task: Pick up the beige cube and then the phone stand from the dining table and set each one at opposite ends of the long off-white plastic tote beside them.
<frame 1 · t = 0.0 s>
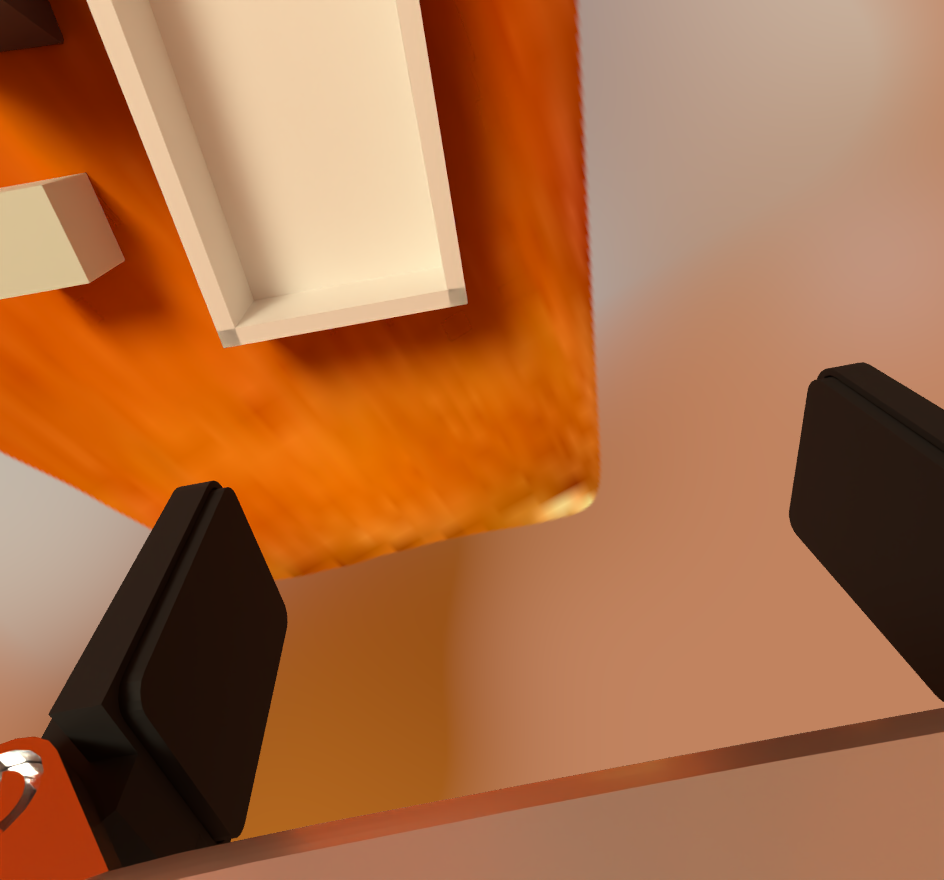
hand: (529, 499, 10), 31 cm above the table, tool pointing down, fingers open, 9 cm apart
beige cube: (65, 225, 36), on the table
tote: (280, 15, 31), on the table
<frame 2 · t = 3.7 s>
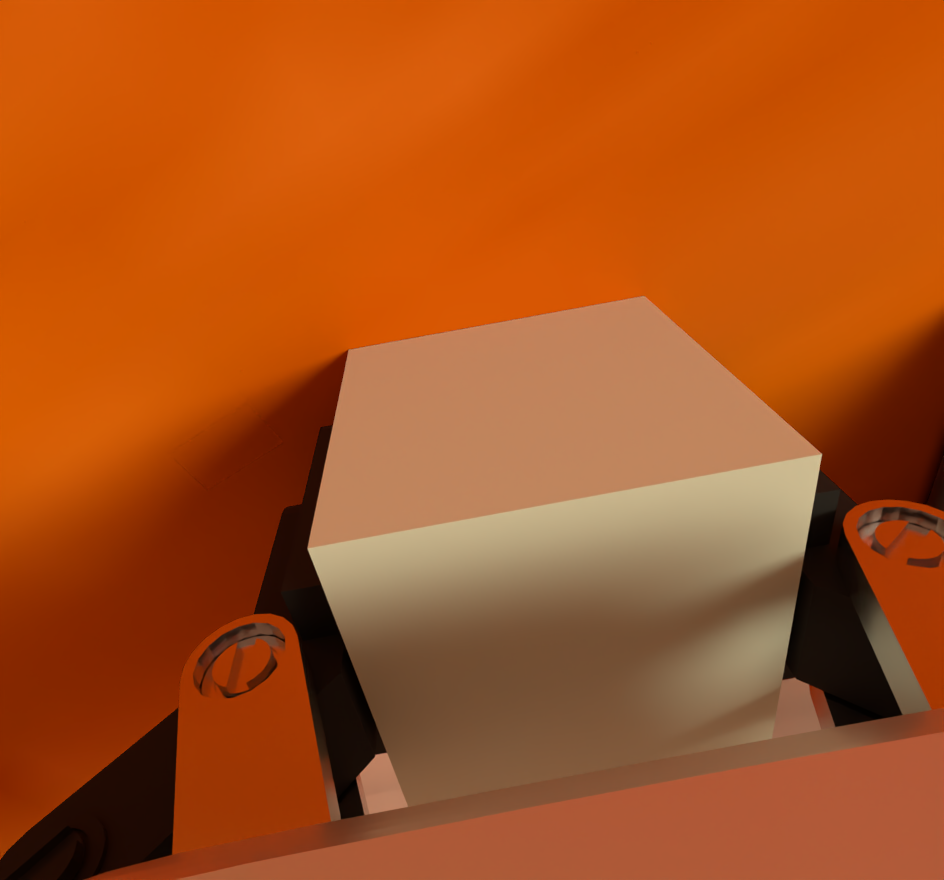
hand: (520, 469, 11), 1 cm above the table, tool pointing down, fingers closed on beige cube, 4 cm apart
beige cube: (514, 448, 11), on the table, touching gripper
tote: (817, 808, 19), on the table
when the fingers open (3 cm above the table, at t = 10.2 s): beige cube drops 1 cm, resting on tote.
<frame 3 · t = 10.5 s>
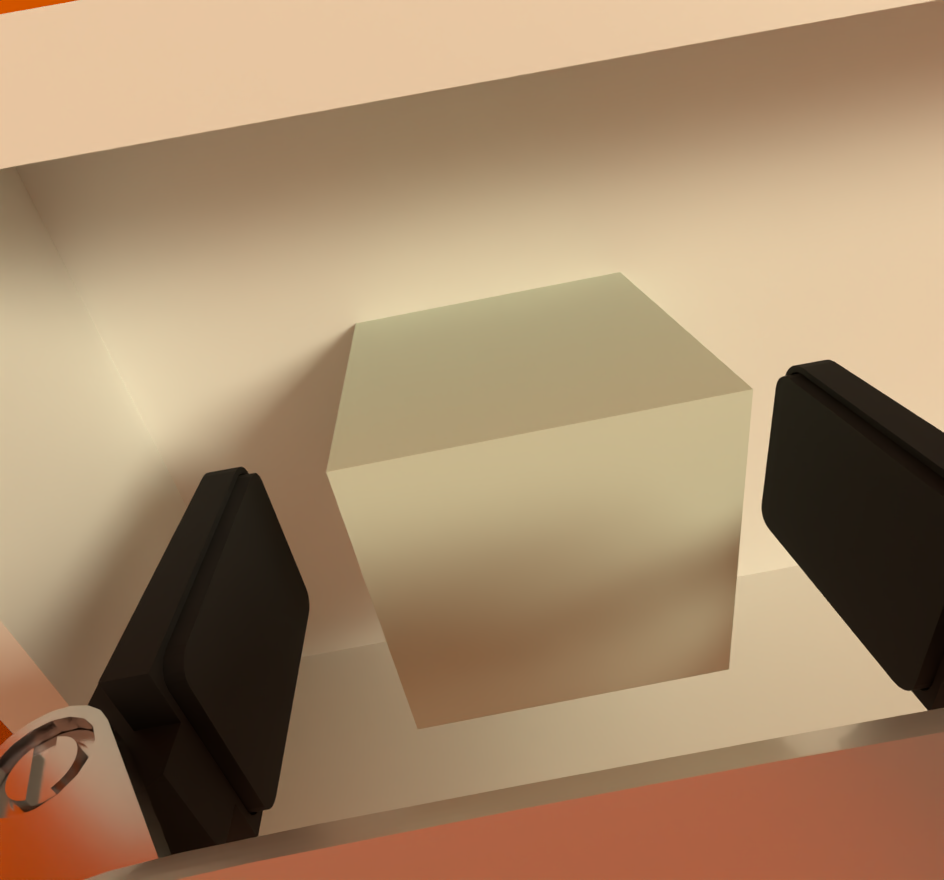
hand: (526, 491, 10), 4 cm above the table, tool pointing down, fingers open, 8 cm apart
beige cube: (505, 413, 13), point 1 cm above the table, touching tote
tote: (807, 335, 13), on the table
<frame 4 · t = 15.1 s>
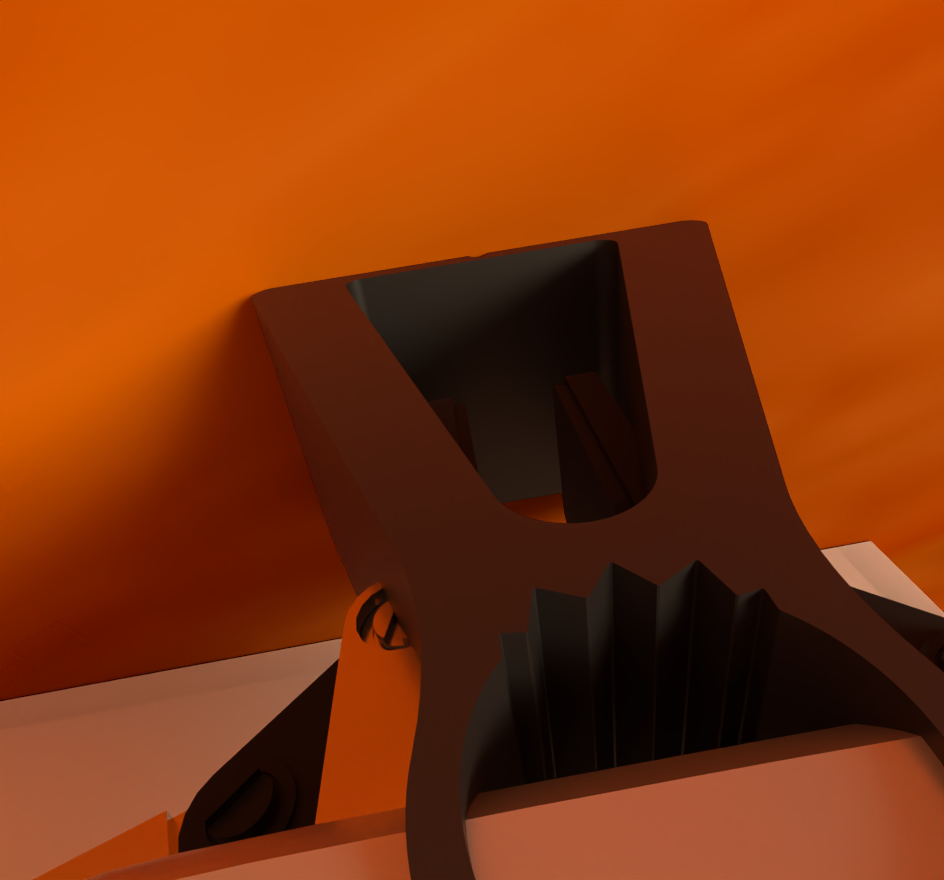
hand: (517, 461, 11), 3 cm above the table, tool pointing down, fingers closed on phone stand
tote: (405, 773, 21), on the table
phone stand: (493, 383, 14), on the table, touching gripper
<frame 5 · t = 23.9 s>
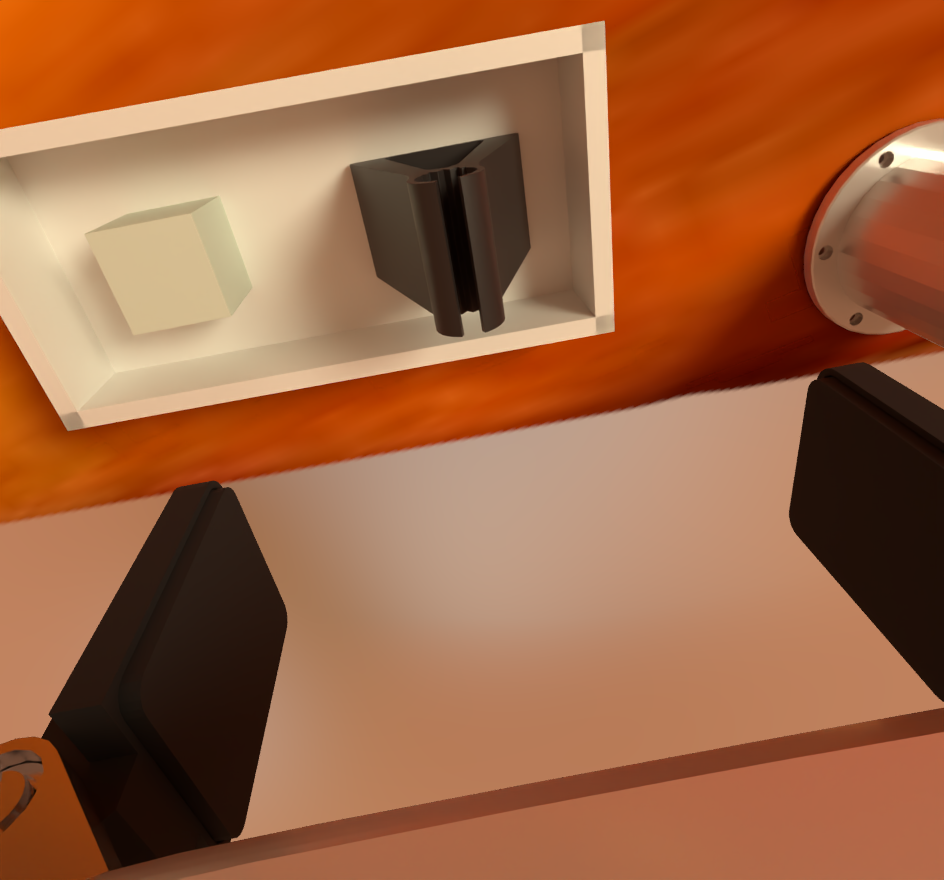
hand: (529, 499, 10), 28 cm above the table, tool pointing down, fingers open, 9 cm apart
beige cube: (192, 251, 33), point 1 cm above the table, touching tote
tote: (318, 225, 34), on the table
phone stand: (443, 206, 34), point 1 cm above the table, touching tote
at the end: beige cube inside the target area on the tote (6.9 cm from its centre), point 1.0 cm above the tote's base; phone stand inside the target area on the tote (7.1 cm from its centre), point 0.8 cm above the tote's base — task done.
